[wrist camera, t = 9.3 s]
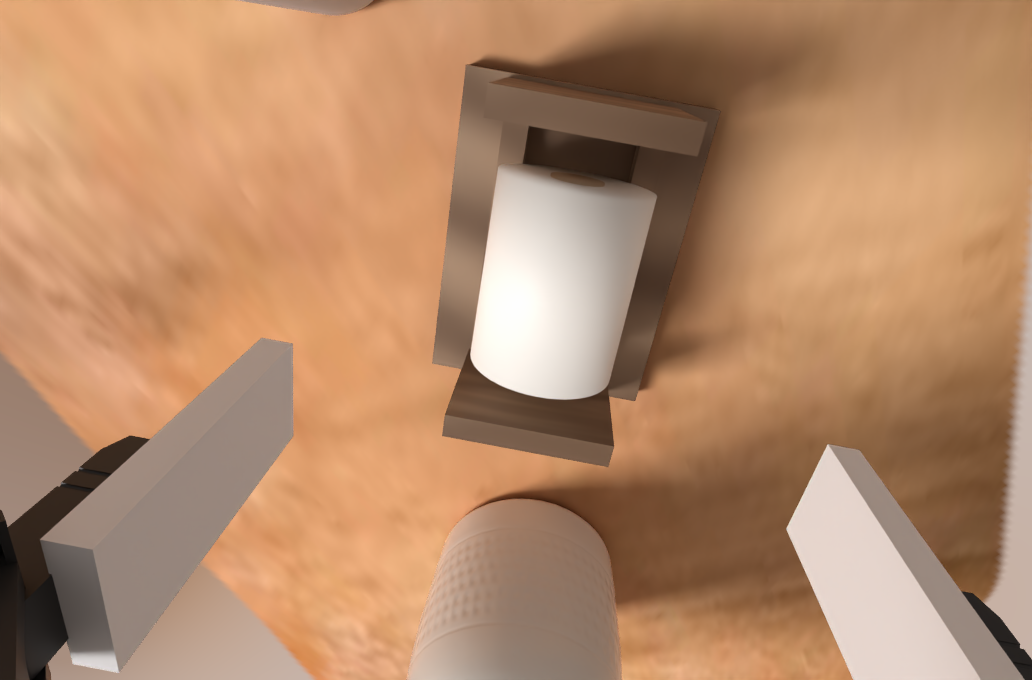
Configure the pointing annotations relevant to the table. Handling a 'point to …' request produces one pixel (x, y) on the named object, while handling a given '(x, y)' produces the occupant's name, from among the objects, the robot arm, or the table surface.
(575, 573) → the lamp
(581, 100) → the holder
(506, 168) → the cylinder
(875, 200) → the table surface
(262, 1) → the beverage can
